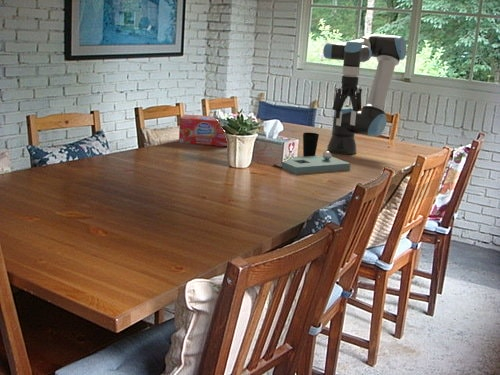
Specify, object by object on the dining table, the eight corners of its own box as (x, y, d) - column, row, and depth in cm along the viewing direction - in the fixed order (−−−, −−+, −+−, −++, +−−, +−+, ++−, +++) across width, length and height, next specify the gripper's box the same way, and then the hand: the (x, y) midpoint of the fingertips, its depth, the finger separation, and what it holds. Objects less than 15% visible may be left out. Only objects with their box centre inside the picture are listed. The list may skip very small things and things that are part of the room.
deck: (326, 161, 311) (327, 154, 310) (349, 169, 296) (350, 163, 295) (274, 164, 296) (274, 158, 295) (295, 174, 281) (296, 167, 280)
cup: (316, 157, 318) (318, 133, 315) (316, 160, 311) (318, 136, 308) (301, 155, 319) (303, 132, 316) (300, 159, 311) (302, 134, 308)
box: (177, 143, 331) (178, 117, 328) (184, 138, 344) (185, 113, 340) (229, 148, 327) (230, 121, 324) (234, 143, 340) (235, 117, 336)
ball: (327, 158, 302) (328, 150, 301) (332, 160, 298) (333, 152, 297) (320, 159, 300) (321, 150, 299) (325, 161, 296) (326, 152, 295)
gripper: (362, 75, 301) (357, 123, 307) (327, 74, 291) (322, 124, 297) (373, 76, 295) (367, 125, 301) (337, 76, 285) (332, 127, 291)
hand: (345, 125), depth 299 cm, fingers open, 8 cm apart
